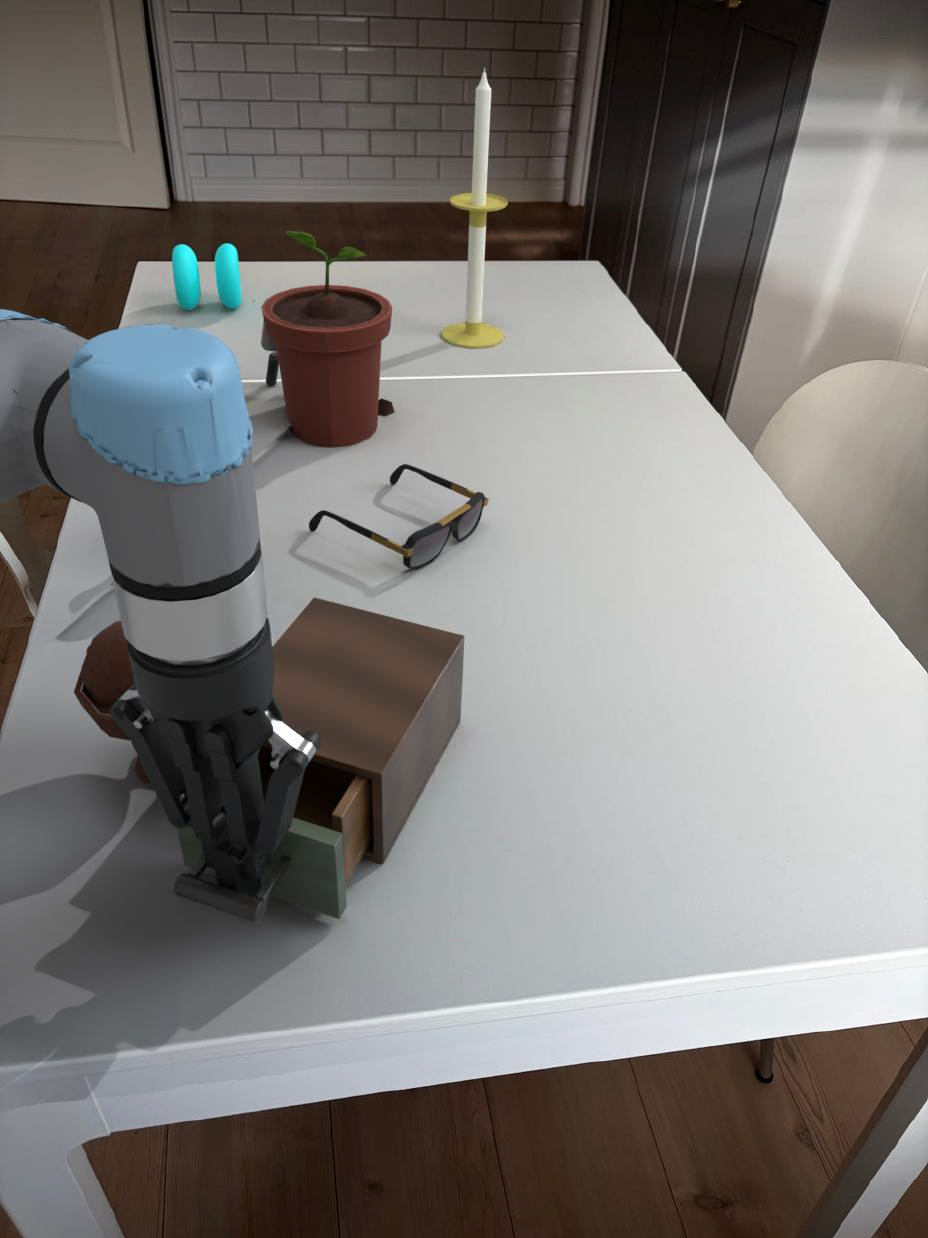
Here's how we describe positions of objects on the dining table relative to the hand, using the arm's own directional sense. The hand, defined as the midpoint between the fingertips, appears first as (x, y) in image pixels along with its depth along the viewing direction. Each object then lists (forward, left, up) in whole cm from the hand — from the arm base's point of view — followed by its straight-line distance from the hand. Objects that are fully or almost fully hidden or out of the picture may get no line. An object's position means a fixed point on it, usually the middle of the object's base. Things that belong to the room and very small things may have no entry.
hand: (242, 898), depth 67 cm
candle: (-22, +109, -3) cm, 111 cm away
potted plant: (-30, +74, -3) cm, 80 cm away
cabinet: (0, +17, -3) cm, 17 cm away
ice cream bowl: (-14, +11, -3) cm, 18 cm away
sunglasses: (-10, +52, -3) cm, 53 cm away
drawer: (0, +7, -2) cm, 8 cm away
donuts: (-65, +102, -3) cm, 121 cm away
